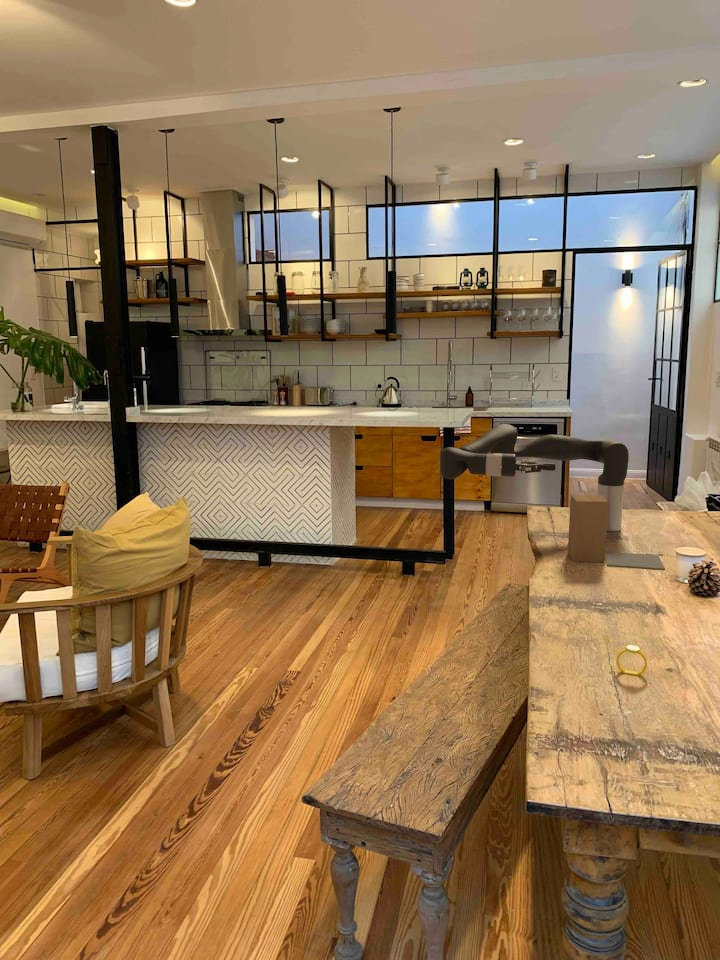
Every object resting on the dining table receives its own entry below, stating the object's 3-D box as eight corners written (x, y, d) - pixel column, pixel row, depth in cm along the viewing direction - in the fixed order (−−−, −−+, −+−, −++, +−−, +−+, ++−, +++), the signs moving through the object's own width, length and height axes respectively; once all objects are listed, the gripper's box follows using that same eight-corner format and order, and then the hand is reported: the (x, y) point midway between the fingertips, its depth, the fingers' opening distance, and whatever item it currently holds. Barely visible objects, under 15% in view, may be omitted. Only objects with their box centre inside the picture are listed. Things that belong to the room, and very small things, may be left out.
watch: (645, 674, 154) (649, 648, 152) (644, 679, 151) (649, 653, 150) (615, 667, 156) (619, 642, 154) (614, 673, 153) (618, 647, 152)
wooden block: (598, 553, 240) (601, 495, 236) (605, 562, 230) (609, 501, 226) (567, 553, 241) (570, 494, 237) (573, 562, 231) (576, 501, 227)
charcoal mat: (603, 552, 241) (603, 551, 241) (657, 556, 237) (657, 554, 237) (607, 565, 227) (607, 564, 227) (664, 569, 223) (665, 568, 223)
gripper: (501, 472, 244) (554, 474, 239) (499, 479, 231) (554, 482, 227) (502, 450, 242) (555, 452, 238) (499, 456, 230) (556, 458, 226)
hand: (555, 467), depth 232 cm, fingers closed
